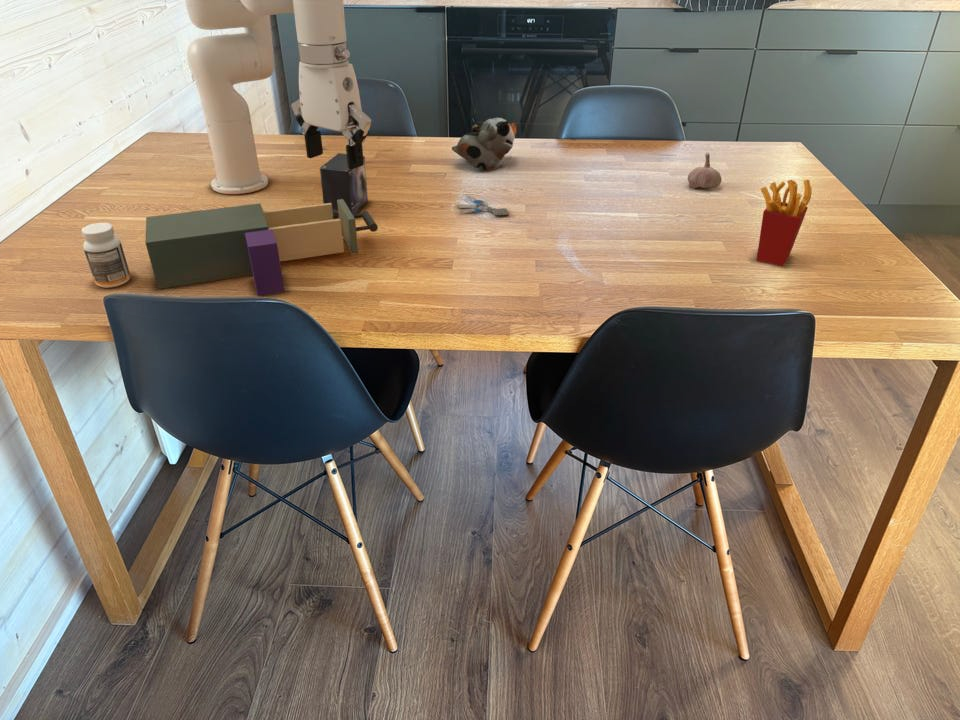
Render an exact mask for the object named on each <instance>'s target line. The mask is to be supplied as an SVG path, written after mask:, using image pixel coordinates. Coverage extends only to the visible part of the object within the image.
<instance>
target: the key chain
mask: <svg viewBox="0 0 960 720" xmlns="http://www.w3.org/2000/svg"><path fill="white" fill-rule="evenodd" d="M465 196H466V197H468V198H470V199H471V200H473V203H474V204H460V205H458V208H459V212H480V211H489V212H492V214H493V216H506V215H509V214H510V211H508V209H507V208H505V207H503V208H502V207H501V208H495V207H491V206H489V203H488V202H487V201H484V200H482V199H477V198H474V197H472V196H471V195H469V194H465ZM479 204H486V205H480V206H479V207H478V205H479Z"/></svg>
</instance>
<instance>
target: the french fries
mask: <svg viewBox="0 0 960 720" xmlns="http://www.w3.org/2000/svg"><path fill="white" fill-rule="evenodd" d="M786 183H787V188H786V189H785V191H784V194H783V197H782V198H781V193H780V191H781V190H782V189H783V188H784V186H786ZM803 186H804V193H803V194H801V193H798V183H797V182H796V181H795V180H793V179H789V180H787V181H781V182H780V183H779V185H777V184H776V181H774V182H770V185H769V189H770V191H771V192H772V197H771V195H770V192H769V190H768V187H767V186H764V187H761V189H760V191H761V193H762V196H763V199H764V202H765V209H764V210H763V212H762V220H761V226H760V233H759V239H758V240H759V241H758V247H757V253H756V254H757V255H756V262H761V263H765V264H769V265H773V266H777V267H781V268H782V267H783V268H784V266H785V265H786V263H787V261H788V260H789V258H790V256H791V254H792V251H793V248H794V245H795V242H796V240H797V238H798V235H799V232H800V230H801V226H802V224H803V222H804V219H805V216H806V214H807V211H808V205H809V203H810V201H811V199H812V186H811V182H810V179H805V180H803ZM788 195H789V196H788ZM802 196H803V197H802ZM801 198H802V199H801ZM787 199H788V200H787ZM787 201H788V202H787Z"/></svg>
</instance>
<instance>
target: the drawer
mask: <svg viewBox="0 0 960 720" xmlns="http://www.w3.org/2000/svg"><path fill="white" fill-rule="evenodd" d="M337 204H338V213H339V218H334V217H333V211H332V204H331V203H326V204H323V203H319V204H309V205H303V206H297V207H295V206H294V207H287V208H279V209H278V208H277V209H271V210H270V209H269V210H263V213H264V216H265V219H266V222H267V225H268V229H269V230H270V229H272V230H273V233H274V236H275V239H276V242H277V247H278V253H279V259H280V262H287V261H293V260H294V261H295V260H301V259H306V258H314V257H320V256H327V255H333V254H334V255H335V254H340V253H344V252H345V249H344V248H345V247H344V241H345V243H346V246H347V247H348V249H349V252H350V253H351V255H356V254H358V253H359V245H358V235H357V232H360V231H367V230H369V231H370V232H372V233H373V232H374V233H375V232H376V231H378V229H379V226H378V224H377V223H376V222H375V220H374V218H373V216H372V215H371V214H370V212H369V211H368V210H363V211H362V210H361V213H357V214H356V215H352V213H351V211H350V210H349V208H348V206H347V205H346V203H345V201H344V200H343V199H340V200H337ZM356 219H362V220H363V221H364V223H365V225H362V226H357V223H356Z"/></svg>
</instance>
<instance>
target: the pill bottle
mask: <svg viewBox="0 0 960 720" xmlns="http://www.w3.org/2000/svg"><path fill="white" fill-rule="evenodd" d="M81 234H82V237H83V239H84V242H83V244H82V248H83V251H84V255H85V259H86V261H87V264H88V266H89V269H90V272H91V276H92V278H93V281H94V283H95V285H97V286H98V287H101V288H117V287H119V286H122V285H124V284H126V283H128V282H129V281H130V279H131V272H130V269H129V265H128V262H127V258H126V256H125V255H126V254H125V252H124V248H123V245H122V241H121V240H120V238H119V237H118V236H116V235H115V229H114V226H113V224H111V223H109V222H95V223H91V224H88V225H86V226H84V227H82V228H81Z"/></svg>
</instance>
